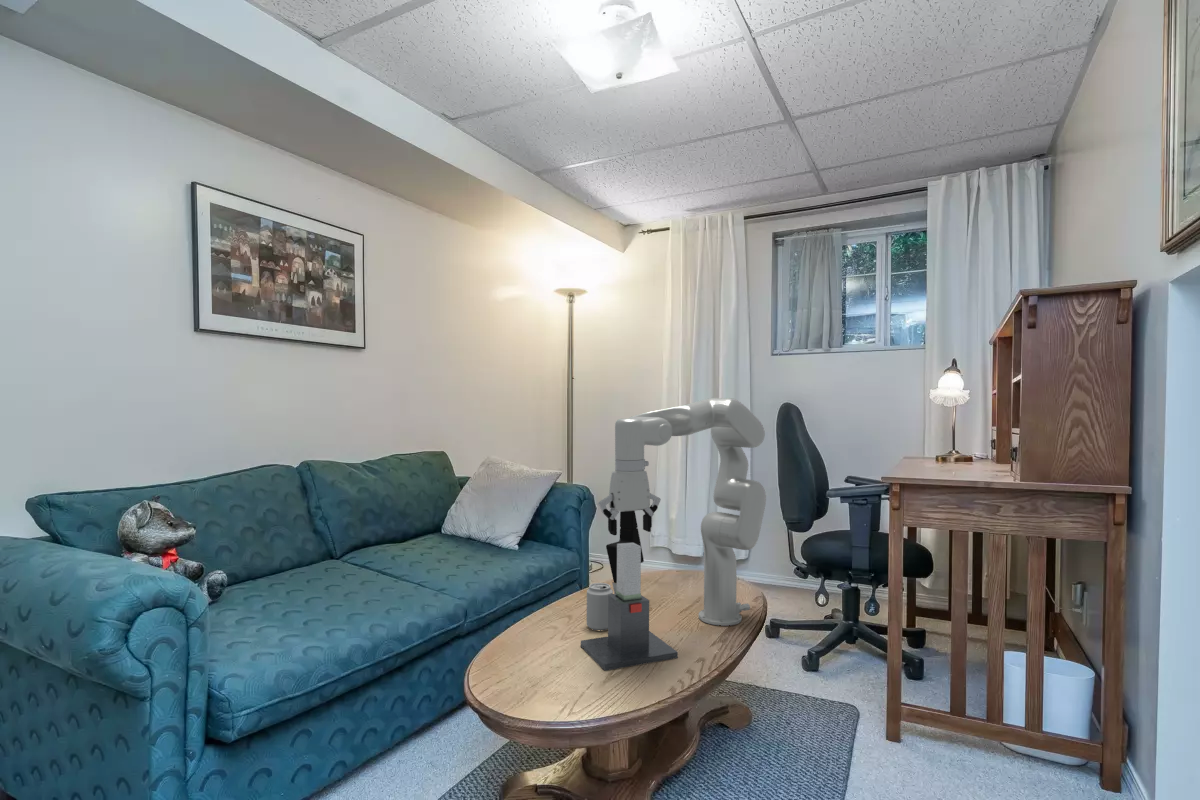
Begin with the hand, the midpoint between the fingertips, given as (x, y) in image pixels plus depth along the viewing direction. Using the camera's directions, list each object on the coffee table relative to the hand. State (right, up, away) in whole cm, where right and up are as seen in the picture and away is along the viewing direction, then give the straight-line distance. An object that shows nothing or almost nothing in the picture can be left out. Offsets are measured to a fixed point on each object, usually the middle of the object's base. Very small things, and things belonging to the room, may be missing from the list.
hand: (630, 532), depth 157 cm
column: (-1, -23, -1) cm, 23 cm away
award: (0, -31, +39) cm, 50 cm away
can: (-8, -31, +17) cm, 36 cm away
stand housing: (-1, -31, -1) cm, 31 cm away
